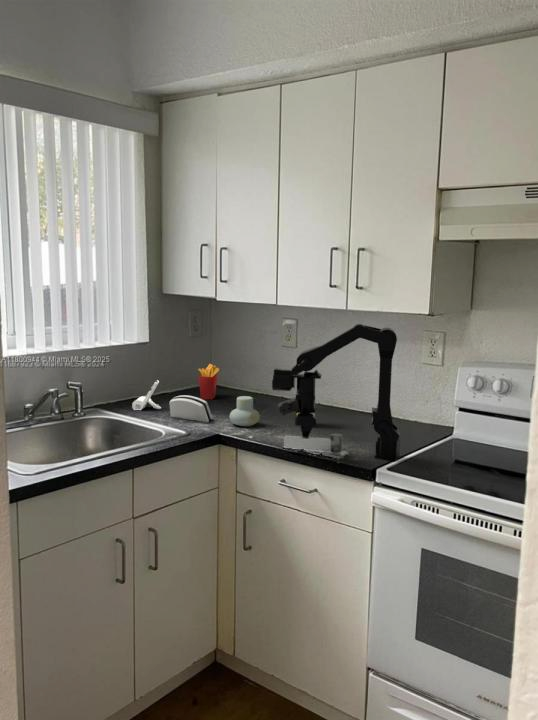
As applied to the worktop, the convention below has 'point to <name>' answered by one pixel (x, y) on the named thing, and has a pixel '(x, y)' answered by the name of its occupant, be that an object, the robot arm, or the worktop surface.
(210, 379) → the french fries
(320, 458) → the worktop surface
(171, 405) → the napkin holder
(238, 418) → the air freshener
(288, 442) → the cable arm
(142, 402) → the plastic part
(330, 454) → the pivot base
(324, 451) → the label tile
